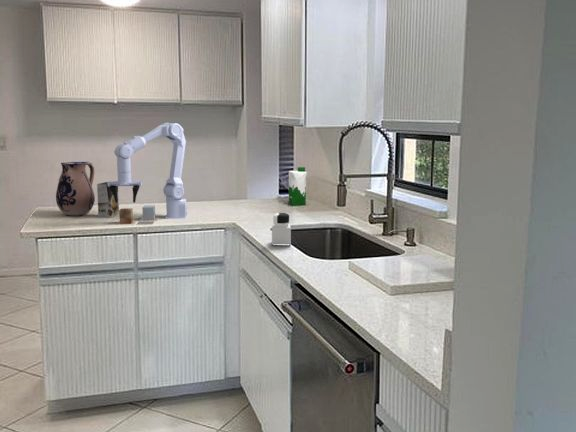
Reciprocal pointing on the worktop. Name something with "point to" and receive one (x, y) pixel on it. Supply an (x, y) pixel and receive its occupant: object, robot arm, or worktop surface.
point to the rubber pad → (144, 222)
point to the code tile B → (149, 220)
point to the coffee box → (106, 201)
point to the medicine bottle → (281, 229)
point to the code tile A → (125, 224)
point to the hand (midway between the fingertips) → (125, 202)
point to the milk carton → (297, 187)
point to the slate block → (148, 212)
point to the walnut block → (126, 215)
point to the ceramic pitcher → (75, 189)
